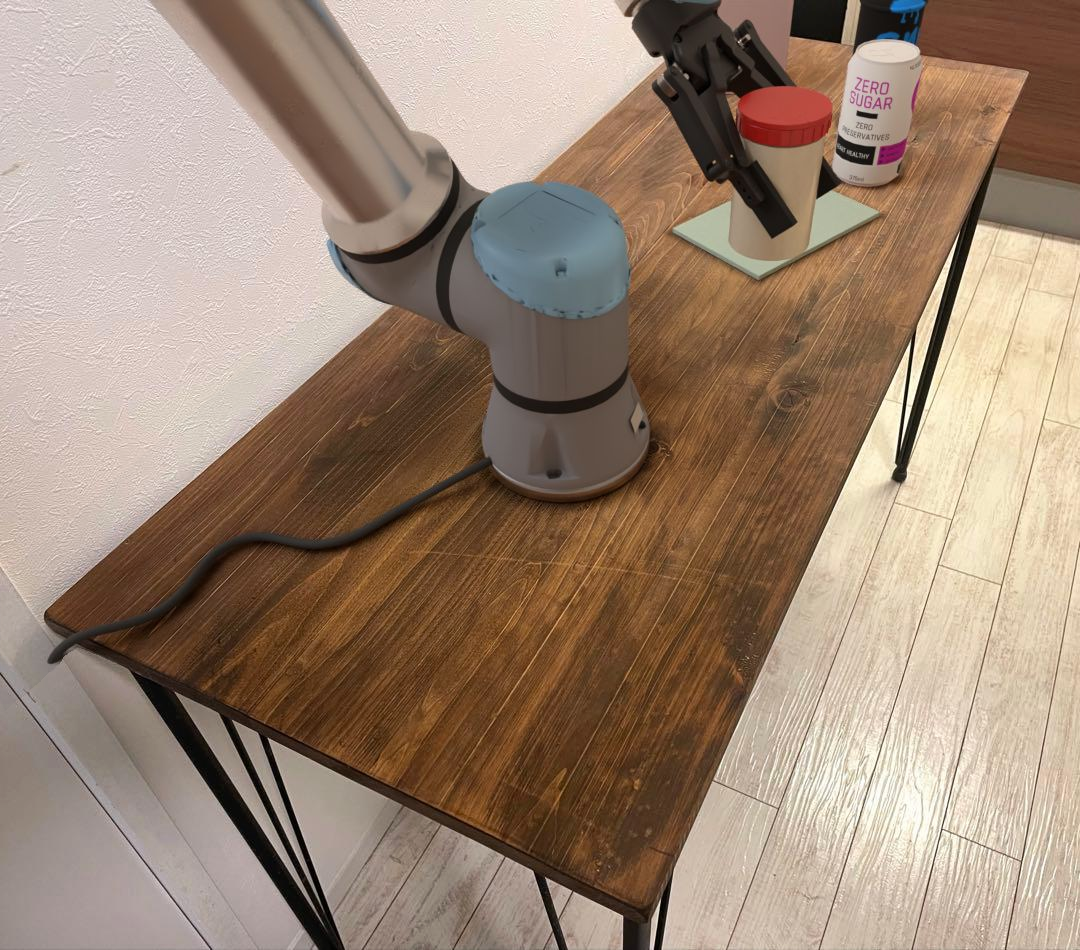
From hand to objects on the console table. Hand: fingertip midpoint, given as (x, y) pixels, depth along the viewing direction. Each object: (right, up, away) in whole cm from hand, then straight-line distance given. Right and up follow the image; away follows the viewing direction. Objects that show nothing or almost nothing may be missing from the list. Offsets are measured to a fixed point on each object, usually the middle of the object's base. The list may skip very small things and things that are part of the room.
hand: (806, 210), depth 83 cm
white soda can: (+17, +14, +32) cm, 39 cm away
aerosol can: (+21, +24, +42) cm, 53 cm away
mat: (+4, +6, +25) cm, 26 cm away
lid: (-3, +7, -4) cm, 9 cm away
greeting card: (+5, +33, +52) cm, 62 cm away
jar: (-2, -2, +5) cm, 5 cm away
